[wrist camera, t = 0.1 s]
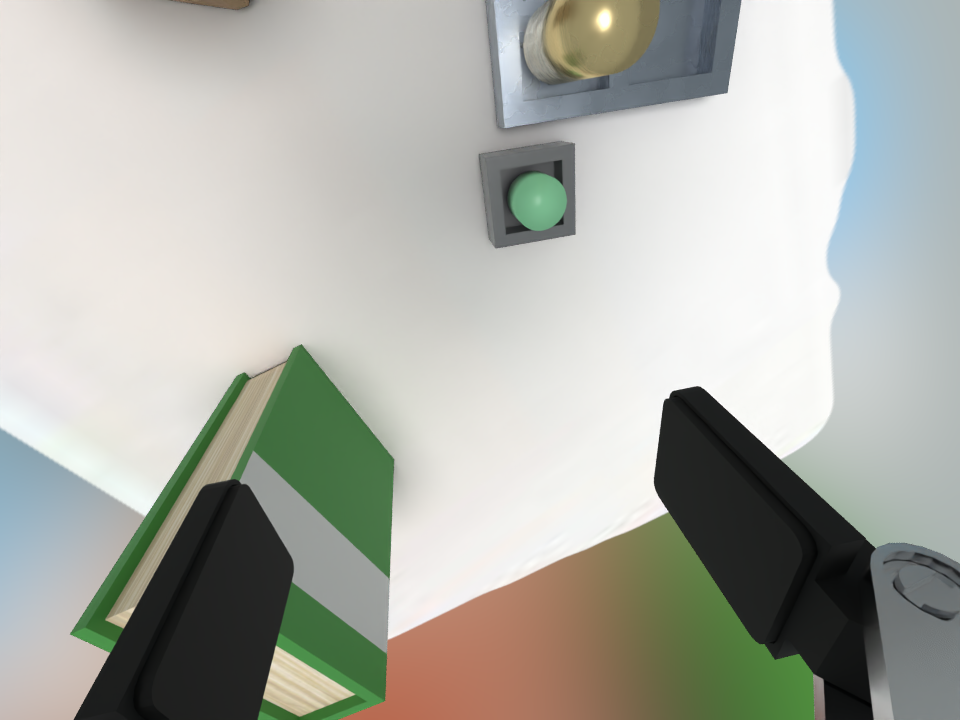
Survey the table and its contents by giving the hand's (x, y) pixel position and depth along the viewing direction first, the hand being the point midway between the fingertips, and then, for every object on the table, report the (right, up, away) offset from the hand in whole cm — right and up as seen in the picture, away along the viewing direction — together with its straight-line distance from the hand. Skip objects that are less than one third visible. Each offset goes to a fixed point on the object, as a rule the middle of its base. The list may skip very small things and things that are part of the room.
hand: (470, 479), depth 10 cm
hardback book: (-17, -4, +36) cm, 40 cm away
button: (+4, +16, +25) cm, 30 cm away
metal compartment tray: (+10, +27, +22) cm, 36 cm away
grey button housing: (+4, +17, +27) cm, 32 cm away
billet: (+6, +26, +21) cm, 34 cm away
